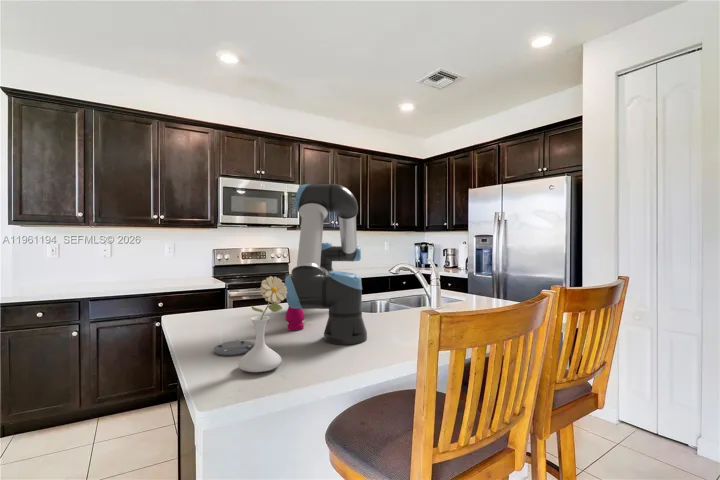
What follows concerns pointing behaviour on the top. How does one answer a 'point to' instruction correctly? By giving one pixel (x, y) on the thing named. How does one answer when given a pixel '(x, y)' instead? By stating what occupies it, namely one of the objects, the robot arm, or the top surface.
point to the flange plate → (233, 348)
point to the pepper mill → (295, 319)
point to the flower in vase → (260, 354)
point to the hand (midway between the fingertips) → (304, 282)
